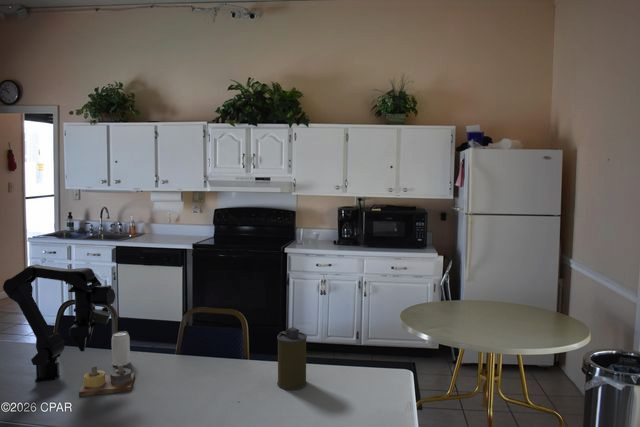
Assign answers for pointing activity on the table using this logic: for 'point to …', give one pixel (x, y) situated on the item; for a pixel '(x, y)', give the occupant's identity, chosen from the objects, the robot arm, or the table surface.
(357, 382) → the table surface
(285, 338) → the canister
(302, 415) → the table surface
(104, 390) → the gear board
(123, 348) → the can
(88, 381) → the tan ring
